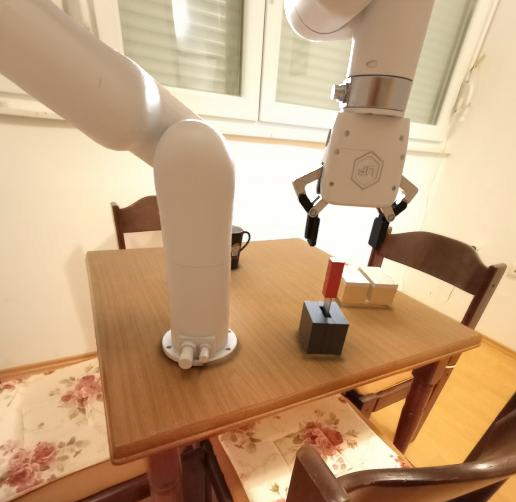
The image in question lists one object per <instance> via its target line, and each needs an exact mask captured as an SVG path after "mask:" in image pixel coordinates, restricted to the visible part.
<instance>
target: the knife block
mask: <svg viewBox="0 0 516 502" xmlns="http://www.w3.org/2000/svg"><path fill="white" fill-rule="evenodd" d="M323 303H324V301H317V300H315V301H314V300H303V303H302V309H301V314H300V320H299V326H298V332H299V335H300V338H301V341H302V345H303V347H304V350H305V353H306V355H332V356H341V355H342V352H343V349H344V344H345V342H346V339H347V335H348V331H349V327H350V322H349V321H348V320H347V318H346V317H345V315H344V313H343V311H342V309H341V307H340V306H339V304H338V303H337V301H332V303H331V307H330V311H329V315H328V318H325V317H324V315H323V313H322V308H323Z"/></svg>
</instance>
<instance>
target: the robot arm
mask: <svg viewBox="0 0 516 502" xmlns="http://www.w3.org/2000/svg"><path fill="white" fill-rule="evenodd" d="M435 2H436V0H283V4H284V5H283V6H284V11H285V15H286V18H287V21H288V23H289V25H290V27H291V28H292V30H293V31H294V32H295V34H297V35H298V36H299V37H300V38H303V39H304V40H307V41H309V42H316V43H317V42H319V43H320V42H334V41H348V40H351V49H350V55H349V61H348V66H347V72H346V78H345V80H343V83H340V84H333V86H332V89H331V94H330V98H331V99H330V100H336V102H338V103H339V108H340V111H339V112H334V116H333V118H332V121H331V123H330V127H329V130H328V133H327V137H326V141H325V145H324V148H323V152H322V157H321V161H320V165H318V166H316V167H314V168H312V169H310V170H307V171H305V172H303V173H301V174H300V175H297V176H295V177H294V178H293V179H292V181H291V184H292V187H293V190H294V193H295V195H296V199H297V201H298V203H299V204H300V205H301V207H302V208H303V209H304V211H305V212H306V220H305V228H304V239H306V241H307V244H308V245H309V246H310V247H312V248H313V247H315V246H317V242H318V236H319V231H320V225H321V224H320V223H321V218H320V217H319V214H320V213H321V212H322V211H323V210H324V209H325V208H326V207H327V206H328V205H332V206H340V207H341V206H342V207H357V208H358V207H359V208H371V209H376V211H377V212H376V213H378V214H377V215H378V216H376V217H375V218H374V219H373V222H372V226H371V230H370V233H369V238H368V241H367V244H368V245H369V246H370V247H371V248H372V249H373V250H375V251H380V250H381V247H382V244H383V243H385V240H386V236H387V234H388V230H389V227H390V224H391V223H392V222H394V221H395V219H396V217H397V216H399V215H400V214H401V213H402V212H404V211H405V210H406V209H407V208H408V205H409V204H410V203H411V202H412V200H413V199H414V198H415V197H416V195H417V194H418V193H419V188H418V187H417V185H415V184H414V183H412V182H411V181H410V180H409V179H407V178H406V177H405V176H404V175H403V173H404V167H405V162H406V157H407V153H408V145H409V137H410V129H411V118H409V117H405V114H406V111H407V106H408V103H409V99H410V96H411V91H412V87H413V84H414V81H415V76H416V73H417V69H418V65H419V61H420V57H421V53H422V50H423V46H424V42H425V40H426V39H425V38H426V35H427V33H428V27H429V24H430V20H431V17H432V14H433V9H434V6H435ZM0 75H1V76H3V77H5V79H7V80H9V81H10V82H12V83H13V84H14V85H16V86H17V87H18V88H19V89H20V90H22V91H23V92H25V93H26V94H28V95H29V96H30V97H32V98H33V99H35V100H36V101H37V102H39V103H40V104H41V105H43V106H45V107H46V108H47V109H49V110H50V111H52V112H54V113H55V114H56V115H57V116H59V117H60V118H62V119H63V120H65V121H66V122H68V123H69V124H70V125H72V126H73V127H74V128H75V129H77V130H79V131H80V132H81V133H82V134H84V135H85V136H86V137H88V138H89V139H90V140H92V141H93V142H95V144H98V145H100V146H101V147H103V148H105V149H108V150H112V151H115V152H130V153H131V154H132V155H134V156H136V158H137V159H139V160H141V161H143V162H144V163H145V164H147V165H148V166H150V167H151V168H152V170H153V172H152V173H153V183H154V190H155V197H156V202H157V207H158V215H159V221H160V228H161V237H162V238H161V239H162V249H163V251H162V252H163V258H164V271H165V280H166V293H167V304H168V305H167V306H168V315H169V326H170V327H169V330H167V331H166V332H165V334H164V335H163V337H162V340H161V346H162V351H163V352H164V355H166V357H168V358H169V359H171V360H172V361H174V362H176V363H177V364H178V366H179V367H180V368H181V369H182V370H188V369H189V370H190V369H191V368H192V366H193V367H203V366H204V364H206V363H210V362H215V361H219V360H221V359H223V358H226V357H227V356H229V355H231V354H232V353H233V352H234V350H235V349H236V348H237V345H238V337H237V335H236V334H235V332H234V331H233V330H232V329H231V328H230V327H229V326H230V301H231V300H230V299H231V275H232V274H231V272H232V270H231V238H232V225H233V216H234V202H235V193H236V191H235V190H236V166H235V165H236V164H235V160H234V155H233V152H232V149H231V146H230V145H229V142H228V141H227V139H226V137H225V136H224V135H223V134H222V133H221V132H220V131H219V130H218V129H217V128H216V127H215V126H213V125H211V124H210V123H208V122H207V121H206V120H204V118H202V117H201V116H200V115H198V114H197V113H196V112H195V111H193V109H191V107H188V105H186V104H185V103H184V102H183V101H182V100H180V99H179V98H178V97H177V96H175V95H174V94H173V93H172V92H171V91H169V90H168V89H167V88H166V87H165V86H164V85H162V84H161V83H160V82H159V81H158V80H156V79H155V78H154V77H153V76H152V75H150V74H149V73H148V72H147V71H145V70H144V69H143V68H142V67H141V66H139V65H138V64H137V63H136V62H135V61H134V60H132V59H131V58H129V56H126V55H125V54H123V53H122V52H120V51H118V50H117V49H115V48H113V47H111V46H110V45H108V44H107V43H105V42H104V41H102V40H101V39H100V38H98V37H97V36H95V35H94V34H93V33H92V32H90V30H88V29H87V28H85V27H84V26H83V25H82V24H80V23H79V22H78V21H76V20H75V19H74V18H73V17H72V16H71V15H69V14H68V13H66V12H65V11H64V10H63V9H62V8H60V6H58V5H57V4H56V3H55V2H54V1H52V0H0ZM315 181H316V188H315V189H316V191H315V193H316V195H315V196H314V197H313V198H312V200H311V199H310V198H309V197H308V195H307V192H306V187H307V185H308V184H310V183H313V182H315ZM399 190H400V191H401V194H400V195H399V197H398V199H396V198H397V196H398V193H399Z"/></svg>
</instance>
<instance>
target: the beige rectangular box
mask: <svg viewBox="0 0 516 502" xmlns="http://www.w3.org/2000/svg"><path fill="white" fill-rule="evenodd" d="M398 288H399V283H397V282H396V281H395V279H393V278H392V277H391V276H390V275H388V274H387V272H386V271H384V270H383V269H382V268H381V267H379V266H363V265H359V266H358V268H357V267H356V266H355V265H348V264H347V265H346V264H345V266H344V270H343V274H342V278H341V282H340V286H339V290H338V294H337V298H338V300H339V302H340V303H341V304H358V305H377V306H387V307H388V308H389V309H391V308H392V305H393V302H394V300H395V296H396V294H397V291H398Z"/></svg>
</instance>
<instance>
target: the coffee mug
mask: <svg viewBox="0 0 516 502" xmlns="http://www.w3.org/2000/svg"><path fill="white" fill-rule="evenodd" d="M244 234H247V236H248V237H247V238H248V239H247V241H246V243H245V244H244V245H243V246H242V243H243V238H244ZM251 239H252V238H251V233H250V232H249V231H247V230H245V229H244V228H243V227H241V226H238V225H233V224H232V238H231V271H232V270H236V269H238V268H239V262H240V257H241V252H242V251H243V250H244V249H245V248H246V247H247V246H248V245H249V243H250V241H251Z"/></svg>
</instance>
